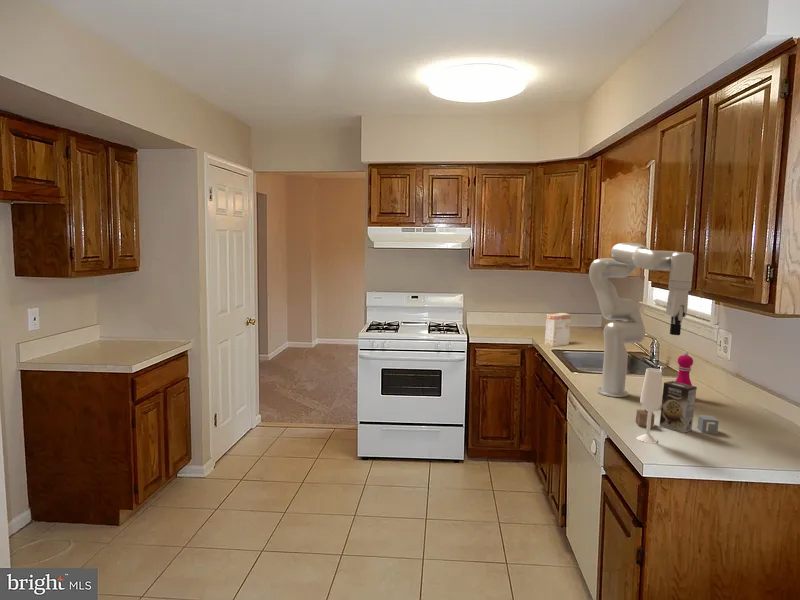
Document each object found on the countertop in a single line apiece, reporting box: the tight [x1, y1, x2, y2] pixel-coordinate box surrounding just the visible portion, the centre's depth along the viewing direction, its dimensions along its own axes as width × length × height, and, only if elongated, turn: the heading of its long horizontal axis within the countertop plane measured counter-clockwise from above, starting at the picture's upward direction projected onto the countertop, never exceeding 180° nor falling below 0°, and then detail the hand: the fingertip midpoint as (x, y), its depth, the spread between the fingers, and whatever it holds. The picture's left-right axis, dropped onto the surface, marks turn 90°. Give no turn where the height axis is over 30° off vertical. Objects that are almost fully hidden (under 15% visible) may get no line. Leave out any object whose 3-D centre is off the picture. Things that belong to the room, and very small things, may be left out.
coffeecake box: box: [544, 312, 572, 347], centre depth 347 cm, size 15×7×20 cm, turn 123°
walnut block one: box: [635, 408, 655, 429], centre depth 202 cm, size 5×5×6 cm
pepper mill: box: [675, 351, 694, 386], centre depth 240 cm, size 7×7×20 cm
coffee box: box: [659, 380, 698, 434], centre depth 200 cm, size 9×6×16 cm
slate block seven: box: [696, 414, 720, 435], centre depth 198 cm, size 5×5×5 cm
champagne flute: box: [636, 367, 663, 444], centre depth 186 cm, size 7×7×24 cm
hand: (674, 334), depth 209 cm, fingers closed
